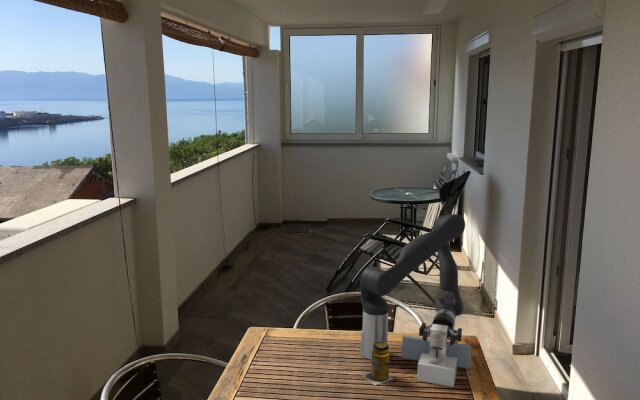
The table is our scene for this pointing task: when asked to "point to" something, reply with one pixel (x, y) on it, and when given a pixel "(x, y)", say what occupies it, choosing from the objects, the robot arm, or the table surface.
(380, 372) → the condiment
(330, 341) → the table surface
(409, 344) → the screen
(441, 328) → the lettered block
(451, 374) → the plinth
